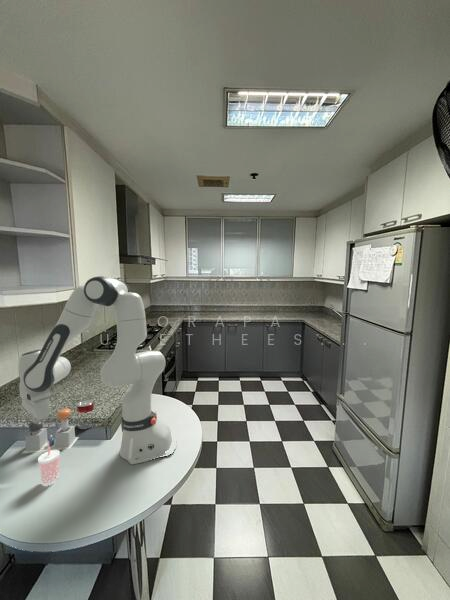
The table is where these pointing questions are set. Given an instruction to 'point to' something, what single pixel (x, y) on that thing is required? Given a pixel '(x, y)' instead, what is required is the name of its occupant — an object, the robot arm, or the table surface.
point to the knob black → (35, 427)
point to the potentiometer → (51, 441)
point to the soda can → (85, 406)
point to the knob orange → (64, 418)
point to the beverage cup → (49, 466)
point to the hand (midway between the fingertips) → (35, 422)
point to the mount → (40, 440)
